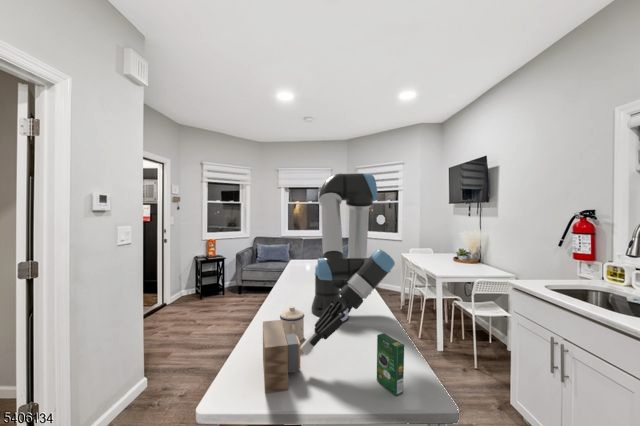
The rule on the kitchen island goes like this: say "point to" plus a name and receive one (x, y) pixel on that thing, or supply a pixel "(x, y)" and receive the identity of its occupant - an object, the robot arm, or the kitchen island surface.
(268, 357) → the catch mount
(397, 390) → the coffee box
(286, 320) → the teacup with lid
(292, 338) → the gray housing block
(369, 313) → the kitchen island surface
